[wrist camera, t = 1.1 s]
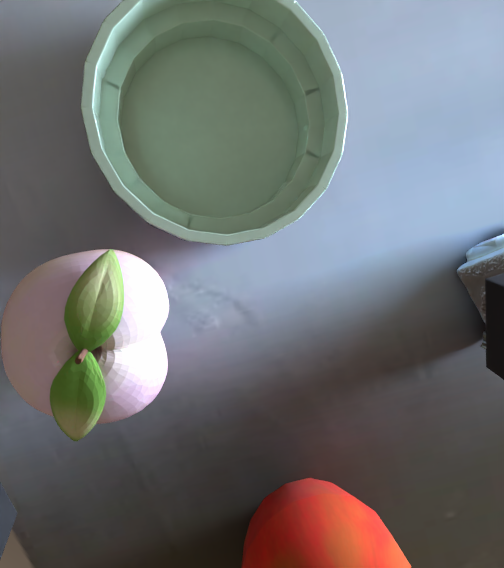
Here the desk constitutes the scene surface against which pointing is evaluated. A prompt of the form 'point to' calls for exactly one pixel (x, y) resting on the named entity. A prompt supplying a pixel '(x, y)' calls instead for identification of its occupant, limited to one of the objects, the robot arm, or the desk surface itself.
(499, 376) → the robot arm
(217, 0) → the bowl
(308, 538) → the apple
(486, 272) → the grey blocky piece
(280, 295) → the desk surface
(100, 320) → the decorative fruit
